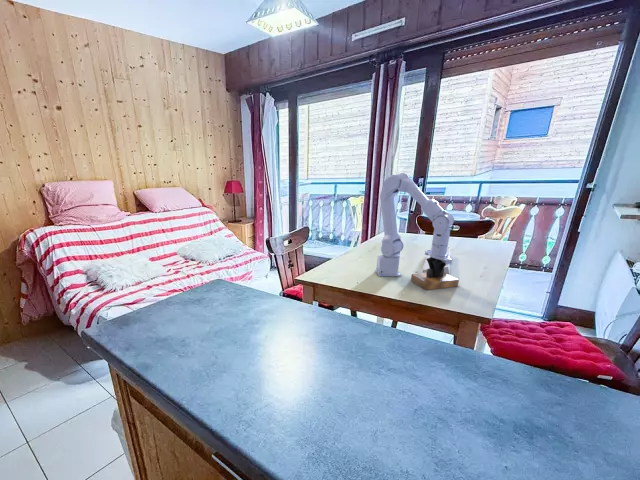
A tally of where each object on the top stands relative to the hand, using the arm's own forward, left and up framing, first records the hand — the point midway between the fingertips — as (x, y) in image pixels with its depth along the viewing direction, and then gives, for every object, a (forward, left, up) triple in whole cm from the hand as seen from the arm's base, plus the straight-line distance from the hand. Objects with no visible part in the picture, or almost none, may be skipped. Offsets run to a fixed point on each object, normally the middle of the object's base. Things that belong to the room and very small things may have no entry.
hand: (434, 275), depth 137 cm
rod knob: (0, 0, 0) cm, 0 cm away
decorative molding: (+10, +25, -4) cm, 27 cm away
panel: (0, 0, -3) cm, 3 cm away
